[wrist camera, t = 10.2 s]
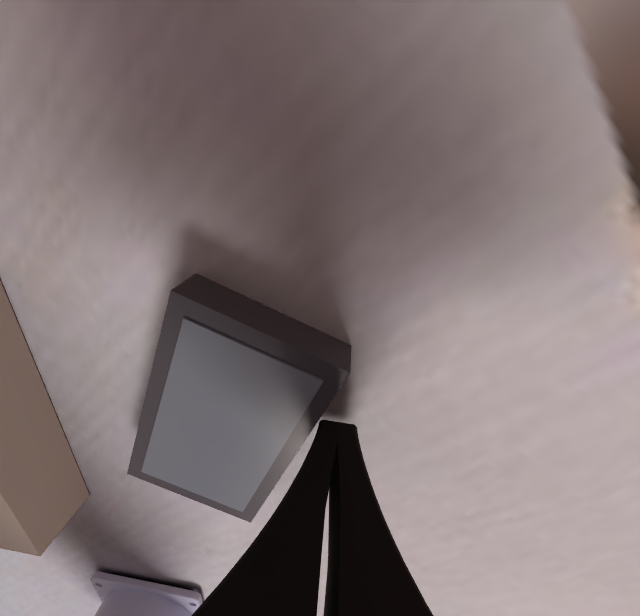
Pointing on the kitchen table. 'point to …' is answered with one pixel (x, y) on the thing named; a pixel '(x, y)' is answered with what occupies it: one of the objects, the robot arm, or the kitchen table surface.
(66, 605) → the kitchen table surface
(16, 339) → the outlet plate
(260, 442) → the phone
